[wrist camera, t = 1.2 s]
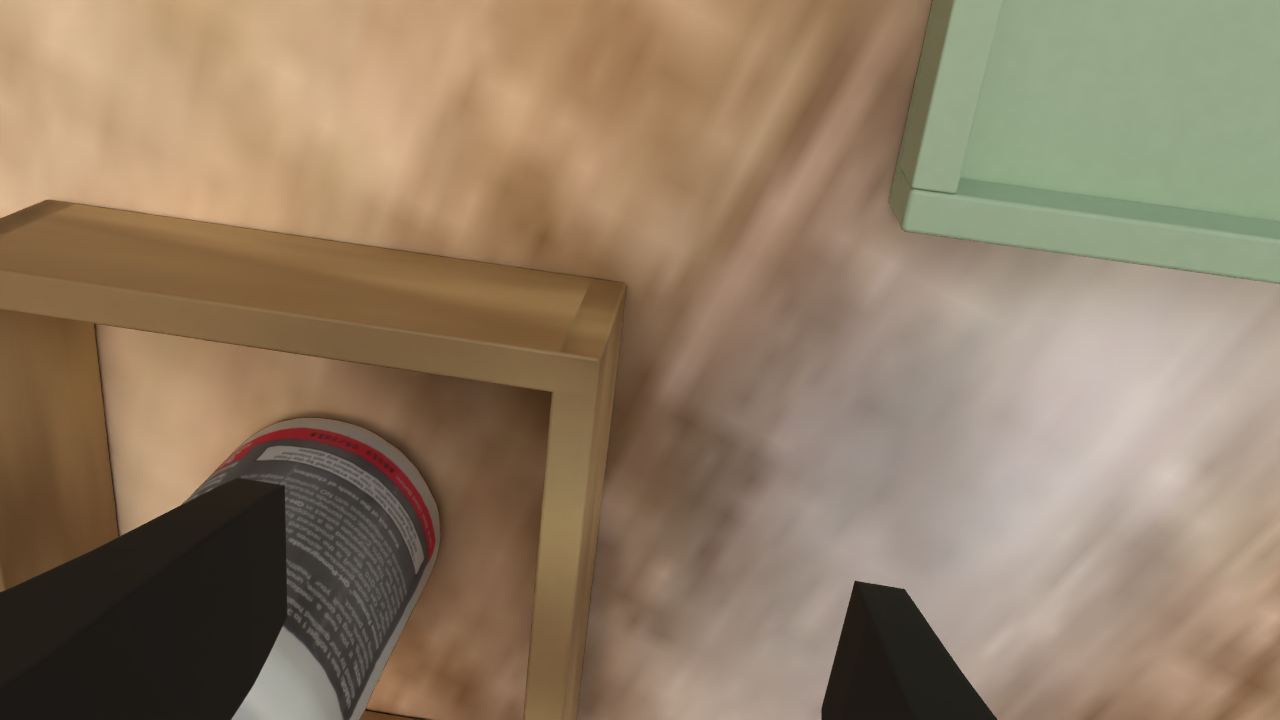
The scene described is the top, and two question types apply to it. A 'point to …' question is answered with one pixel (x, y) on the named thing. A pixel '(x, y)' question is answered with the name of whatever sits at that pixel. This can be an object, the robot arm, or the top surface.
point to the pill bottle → (337, 562)
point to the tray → (1100, 131)
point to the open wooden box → (302, 324)
